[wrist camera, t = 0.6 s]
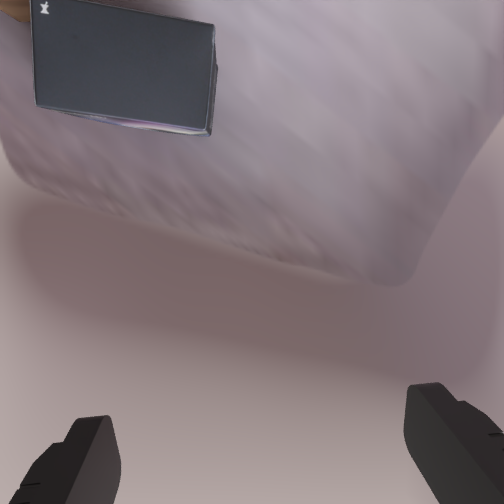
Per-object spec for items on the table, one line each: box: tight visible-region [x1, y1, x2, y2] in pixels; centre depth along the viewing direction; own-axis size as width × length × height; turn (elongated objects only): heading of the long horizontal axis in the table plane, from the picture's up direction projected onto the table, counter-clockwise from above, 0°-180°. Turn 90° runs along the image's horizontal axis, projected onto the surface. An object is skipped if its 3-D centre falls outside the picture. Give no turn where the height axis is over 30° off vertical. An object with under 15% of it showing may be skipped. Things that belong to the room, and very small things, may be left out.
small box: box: [29, 0, 218, 136], centre depth 25 cm, size 11×6×10 cm, turn 83°
